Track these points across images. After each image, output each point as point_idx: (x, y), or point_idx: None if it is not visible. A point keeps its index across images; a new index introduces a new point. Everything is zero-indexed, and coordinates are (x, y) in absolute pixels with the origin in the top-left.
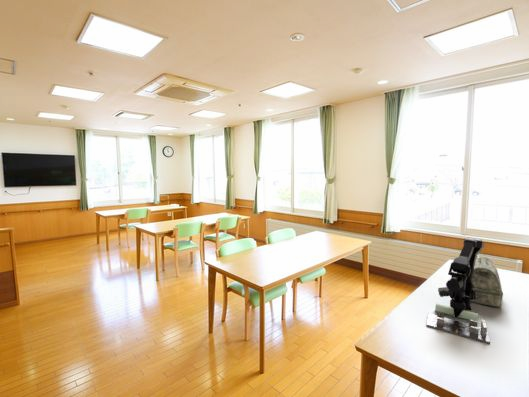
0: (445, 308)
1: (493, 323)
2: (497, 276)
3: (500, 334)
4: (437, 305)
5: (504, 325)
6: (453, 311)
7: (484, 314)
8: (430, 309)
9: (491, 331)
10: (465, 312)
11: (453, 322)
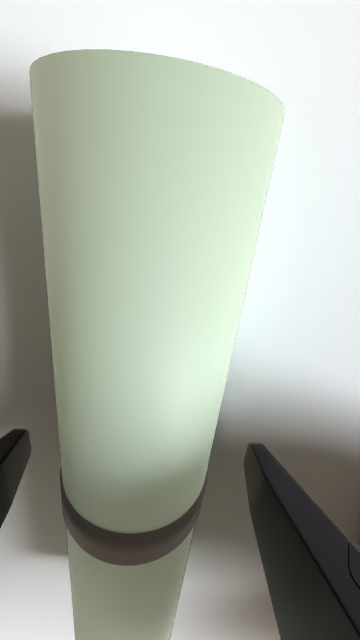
0: (61, 362)
1: None
2: None
3: (3, 633)
4: (72, 136)
5: None
6: (63, 471)
7: None
8: (183, 3)
9: (6, 606)
10: (86, 610)
11: None
